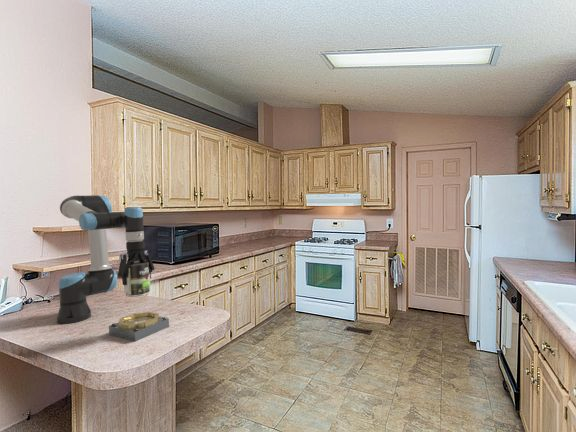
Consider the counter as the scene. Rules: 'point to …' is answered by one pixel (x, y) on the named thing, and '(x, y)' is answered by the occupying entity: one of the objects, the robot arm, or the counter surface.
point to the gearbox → (138, 326)
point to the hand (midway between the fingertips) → (137, 288)
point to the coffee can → (138, 279)
